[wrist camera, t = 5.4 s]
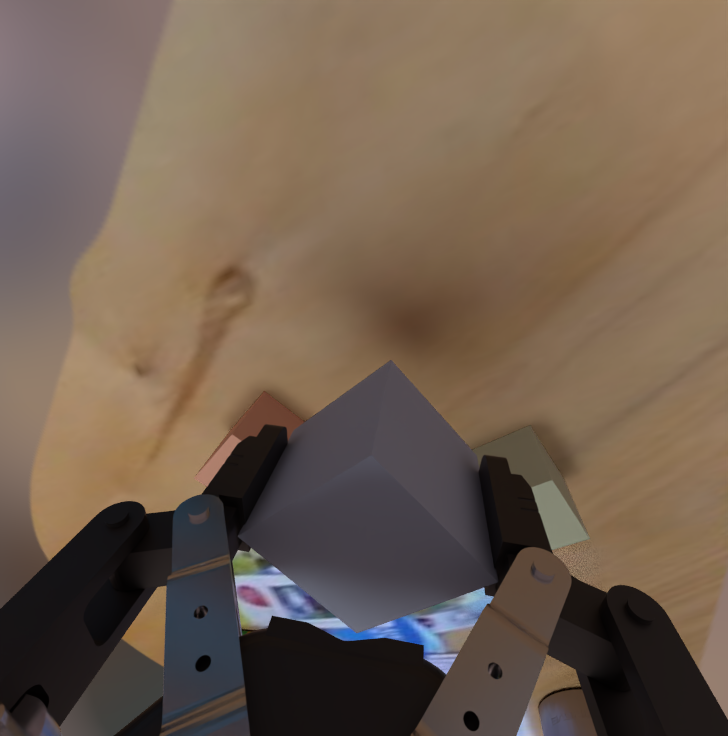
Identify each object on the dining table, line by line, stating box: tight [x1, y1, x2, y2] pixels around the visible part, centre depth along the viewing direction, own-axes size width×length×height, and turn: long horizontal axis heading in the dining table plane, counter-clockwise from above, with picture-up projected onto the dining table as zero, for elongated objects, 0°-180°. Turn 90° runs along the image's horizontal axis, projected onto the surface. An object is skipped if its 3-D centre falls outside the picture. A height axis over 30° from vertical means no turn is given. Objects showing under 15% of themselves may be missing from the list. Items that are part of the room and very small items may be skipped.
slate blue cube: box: [238, 360, 498, 633], centre depth 12 cm, size 5×5×5 cm
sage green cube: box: [472, 425, 590, 550], centre depth 24 cm, size 5×5×5 cm
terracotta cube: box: [194, 391, 304, 487], centre depth 26 cm, size 5×5×5 cm
